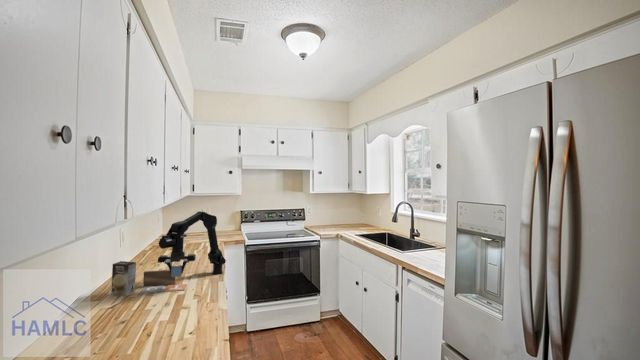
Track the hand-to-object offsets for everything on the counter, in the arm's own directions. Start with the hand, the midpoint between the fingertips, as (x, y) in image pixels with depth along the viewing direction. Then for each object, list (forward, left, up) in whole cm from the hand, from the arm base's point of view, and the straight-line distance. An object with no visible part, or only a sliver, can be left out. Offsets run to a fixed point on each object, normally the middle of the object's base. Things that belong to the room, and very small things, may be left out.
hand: (176, 273), depth 170 cm
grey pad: (0, -12, -8) cm, 15 cm away
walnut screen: (-8, -10, -8) cm, 15 cm away
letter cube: (0, 0, -1) cm, 1 cm away
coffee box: (+3, -25, -8) cm, 27 cm away
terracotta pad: (0, 0, -8) cm, 8 cm away
